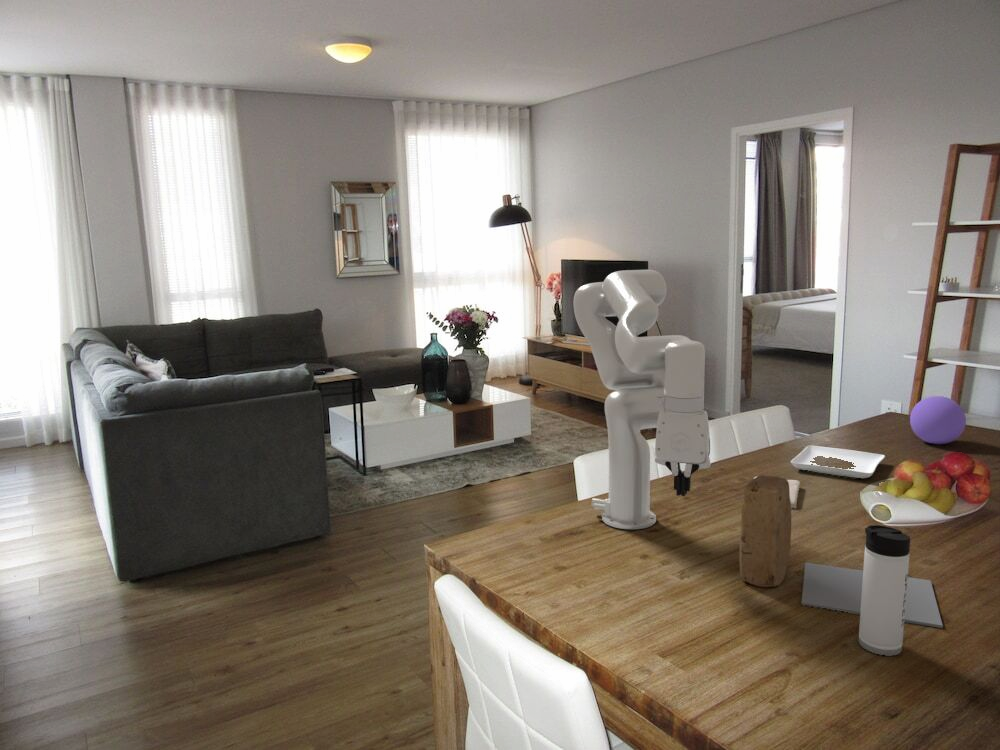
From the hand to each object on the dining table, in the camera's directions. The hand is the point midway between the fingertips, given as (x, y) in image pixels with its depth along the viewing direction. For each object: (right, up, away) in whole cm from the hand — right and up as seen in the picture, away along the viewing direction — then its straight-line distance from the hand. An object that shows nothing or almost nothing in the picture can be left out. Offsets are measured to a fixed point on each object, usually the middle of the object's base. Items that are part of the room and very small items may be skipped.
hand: (681, 493), depth 148 cm
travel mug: (+25, -20, -29) cm, 43 cm away
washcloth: (+34, -8, +42) cm, 54 cm away
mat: (+32, -17, -11) cm, 37 cm away
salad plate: (+60, -3, +63) cm, 87 cm away
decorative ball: (+100, +2, +85) cm, 131 cm away
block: (+15, -16, -4) cm, 22 cm away
